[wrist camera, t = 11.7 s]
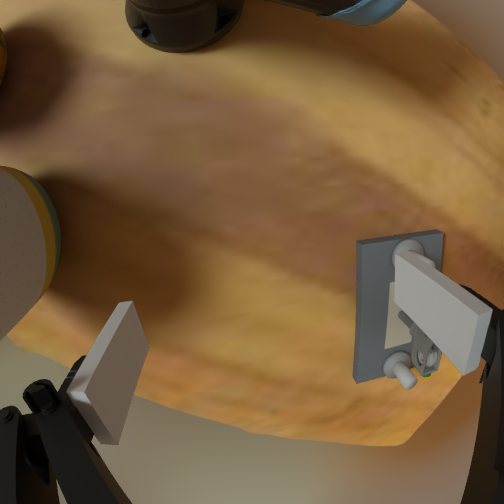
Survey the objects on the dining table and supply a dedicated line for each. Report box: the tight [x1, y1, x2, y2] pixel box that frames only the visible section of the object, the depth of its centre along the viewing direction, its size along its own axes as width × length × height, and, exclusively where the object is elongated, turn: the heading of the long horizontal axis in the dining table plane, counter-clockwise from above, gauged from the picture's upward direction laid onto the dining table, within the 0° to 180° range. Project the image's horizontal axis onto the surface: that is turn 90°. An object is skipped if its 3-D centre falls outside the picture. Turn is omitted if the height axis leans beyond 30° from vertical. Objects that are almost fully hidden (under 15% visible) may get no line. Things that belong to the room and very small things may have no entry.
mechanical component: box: [398, 311, 442, 377], centre depth 39 cm, size 3×10×10 cm, turn 6°
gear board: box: [353, 230, 443, 390], centre depth 42 cm, size 24×14×8 cm, turn 7°
